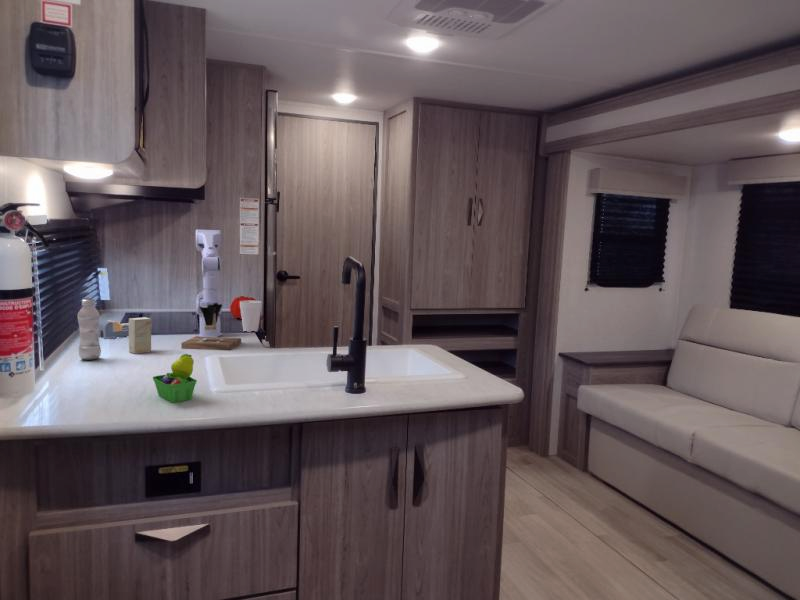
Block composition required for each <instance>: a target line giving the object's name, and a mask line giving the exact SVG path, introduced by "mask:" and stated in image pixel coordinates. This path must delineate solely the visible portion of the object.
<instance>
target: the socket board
mask: <svg viewBox="0 0 800 600" xmlns="http://www.w3.org/2000/svg"><path fill="white" fill-rule="evenodd" d="M241 344H242V338H241V337H223V336H220V337H219V336H218V337H201V336H198V335H196V336H193V337H191V338H188V339H187V340H185V341H183V342H181V347H180V348H181V349H186V350H187V349H188V350H189V349H190V350H192V349H193V350H213V351H216V350H217V351H231V350H233V349H234V348H236V347H238V346H239V345H241Z"/></svg>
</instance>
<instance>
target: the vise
mask: <svg viewBox="0 0 800 600" xmlns="http://www.w3.org/2000/svg"><path fill="white" fill-rule="evenodd" d="M152 326H153V324H152V323H151V327H152ZM98 336H99V338H100V337H101V338H103V339H104V340H107V339H110V340H116V339H118V338H117V337H121V338H126V337H125V336H129V322H126V323H125V322H124V323H120V322H119V321H114V320H111V319H104V320H101V321H99V327H98ZM115 338H116V339H115Z"/></svg>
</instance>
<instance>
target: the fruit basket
mask: <svg viewBox="0 0 800 600" xmlns="http://www.w3.org/2000/svg"><path fill="white" fill-rule="evenodd" d="M192 357H193V355H191V354H189V353H183V354H181V356H180V357H179V358H178V359H177V360H176V361H174V362H173V363H171V365H170V368H171V372H167V373H166V374H162V375H156V376H152V379H153V382H154V384H155V388H156V392H157V394H158V396H159V397H161V398H163V399H164V400H166V401H169V402H170V403H179V402H183V401H184V402H185V401H188V400H192V397H193V394H194V391H195V387H196V384H197V380H196V379H195V378H193V377H191V376H192V374H193V371H194V359H193V358H192Z"/></svg>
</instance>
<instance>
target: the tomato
mask: <svg viewBox="0 0 800 600" xmlns="http://www.w3.org/2000/svg"><path fill="white" fill-rule="evenodd" d="M240 301H257V300H256V298H254V297H251V296H249V297H248V296H244V295H241V296H238V297H235V298H234V299H233V300H232V301H231V303H230V307H229V311H230V314H231V316H233V318H234V319H237V318H241V319H242V317H241V309H240ZM241 319H240V320H241Z"/></svg>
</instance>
